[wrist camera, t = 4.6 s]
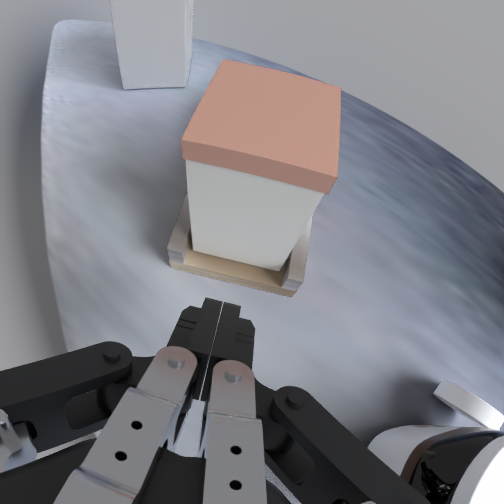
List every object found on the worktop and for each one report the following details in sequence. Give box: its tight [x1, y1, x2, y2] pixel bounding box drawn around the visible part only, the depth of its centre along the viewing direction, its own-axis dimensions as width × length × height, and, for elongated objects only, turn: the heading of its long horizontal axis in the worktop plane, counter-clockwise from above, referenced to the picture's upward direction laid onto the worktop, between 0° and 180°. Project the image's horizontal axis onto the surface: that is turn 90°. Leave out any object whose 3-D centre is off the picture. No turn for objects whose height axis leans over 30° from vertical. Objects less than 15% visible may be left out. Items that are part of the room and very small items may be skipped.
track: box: [167, 191, 313, 297], centre depth 24 cm, size 18×9×6 cm, turn 168°
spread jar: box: [367, 379, 504, 504], centre depth 14 cm, size 12×11×12 cm
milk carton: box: [110, 0, 193, 90], centre depth 23 cm, size 7×7×19 cm
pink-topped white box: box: [181, 59, 341, 271], centre depth 18 cm, size 6×6×11 cm
